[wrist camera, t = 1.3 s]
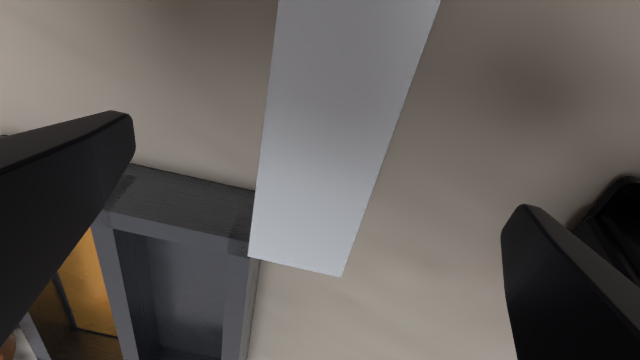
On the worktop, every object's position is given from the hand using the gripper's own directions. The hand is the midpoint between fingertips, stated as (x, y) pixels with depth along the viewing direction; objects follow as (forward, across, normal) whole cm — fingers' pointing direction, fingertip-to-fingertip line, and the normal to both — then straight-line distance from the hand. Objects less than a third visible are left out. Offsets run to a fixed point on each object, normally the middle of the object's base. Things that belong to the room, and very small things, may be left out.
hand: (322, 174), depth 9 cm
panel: (+7, 0, 0) cm, 7 cm away
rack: (+7, +9, +15) cm, 19 cm away
